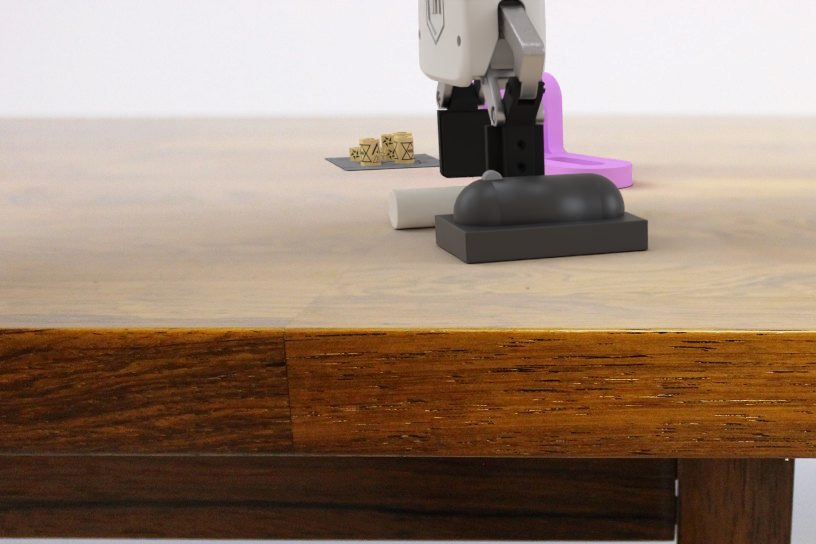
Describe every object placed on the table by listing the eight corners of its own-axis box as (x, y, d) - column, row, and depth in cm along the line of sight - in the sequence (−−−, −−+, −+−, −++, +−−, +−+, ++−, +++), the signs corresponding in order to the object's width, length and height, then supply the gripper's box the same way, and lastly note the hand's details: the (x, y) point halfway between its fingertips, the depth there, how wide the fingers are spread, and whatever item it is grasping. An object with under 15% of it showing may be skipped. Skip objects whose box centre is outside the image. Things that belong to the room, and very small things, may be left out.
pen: (399, 225, 84) (393, 182, 84) (390, 232, 86) (385, 190, 86) (601, 212, 89) (596, 172, 89) (588, 218, 91) (583, 179, 91)
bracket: (472, 172, 108) (467, 74, 106) (532, 166, 112) (529, 70, 110) (587, 192, 99) (585, 84, 97) (648, 184, 103) (648, 81, 101)
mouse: (466, 263, 75) (462, 180, 74) (435, 244, 80) (431, 165, 79) (648, 249, 79) (647, 170, 78) (608, 232, 84) (606, 157, 83)
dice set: (410, 156, 117) (409, 131, 117) (427, 163, 113) (426, 137, 112) (346, 158, 115) (344, 133, 115) (361, 166, 111) (359, 140, 110)
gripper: (373, -125, 87) (391, 172, 92) (455, -143, 72) (469, 212, 77) (497, -120, 90) (507, 167, 95) (600, -136, 75) (604, 204, 81)
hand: (490, 187), depth 86 cm, fingers open, 9 cm apart
